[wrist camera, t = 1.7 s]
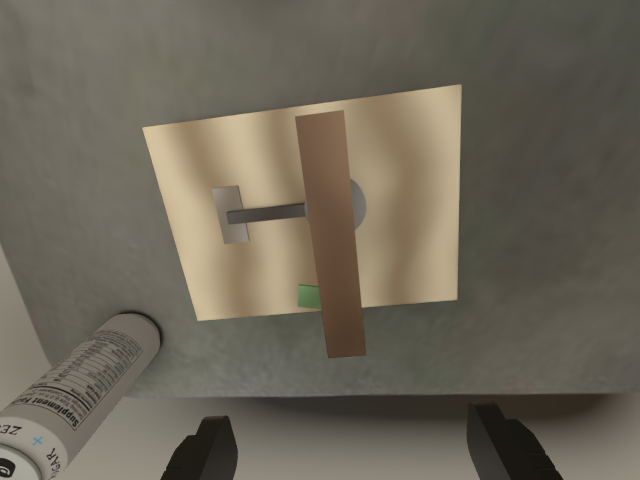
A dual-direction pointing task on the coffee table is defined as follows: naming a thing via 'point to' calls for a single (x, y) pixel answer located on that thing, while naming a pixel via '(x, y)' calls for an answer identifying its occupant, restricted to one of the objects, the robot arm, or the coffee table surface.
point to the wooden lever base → (288, 188)
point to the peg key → (327, 227)
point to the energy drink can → (74, 399)
